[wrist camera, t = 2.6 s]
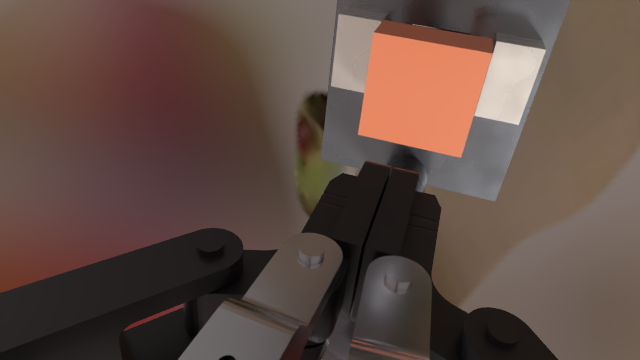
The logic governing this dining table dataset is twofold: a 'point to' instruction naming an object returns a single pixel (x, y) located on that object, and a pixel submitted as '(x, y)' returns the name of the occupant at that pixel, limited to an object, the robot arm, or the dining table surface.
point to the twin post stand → (492, 108)
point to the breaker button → (423, 86)
